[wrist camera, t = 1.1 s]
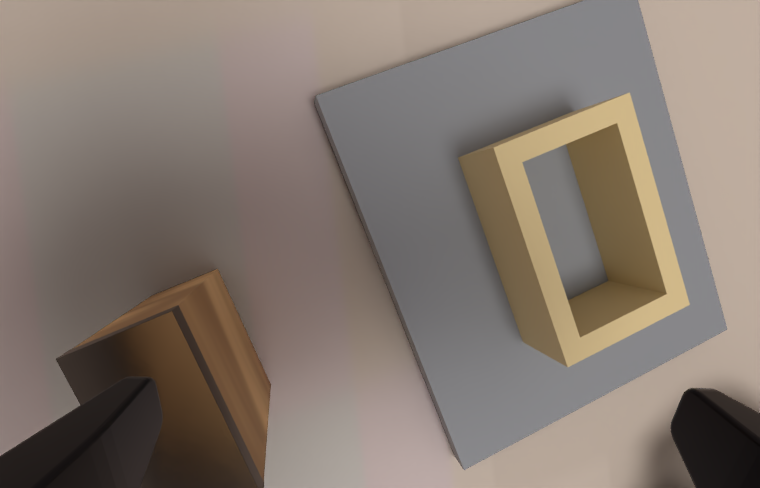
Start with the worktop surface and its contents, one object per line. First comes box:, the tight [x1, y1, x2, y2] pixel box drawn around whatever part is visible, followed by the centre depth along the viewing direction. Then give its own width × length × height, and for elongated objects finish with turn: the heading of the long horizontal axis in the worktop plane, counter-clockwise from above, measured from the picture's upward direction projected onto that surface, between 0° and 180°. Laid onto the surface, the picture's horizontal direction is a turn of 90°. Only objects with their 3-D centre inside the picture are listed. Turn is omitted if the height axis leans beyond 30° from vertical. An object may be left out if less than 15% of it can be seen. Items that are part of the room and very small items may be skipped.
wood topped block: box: [56, 269, 271, 488], centre depth 13 cm, size 2×5×7 cm, turn 20°
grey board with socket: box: [314, 0, 727, 470], centre depth 17 cm, size 14×16×4 cm
